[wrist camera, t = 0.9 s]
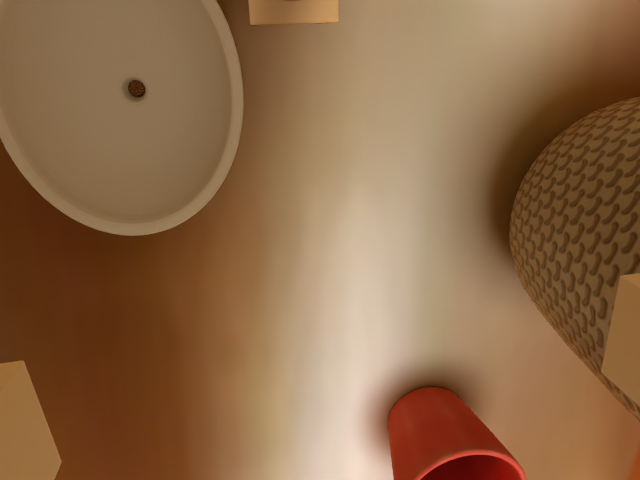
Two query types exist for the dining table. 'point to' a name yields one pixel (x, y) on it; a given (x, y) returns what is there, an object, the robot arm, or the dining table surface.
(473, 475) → the flower pot
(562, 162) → the planter
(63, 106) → the dish
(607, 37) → the dining table surface
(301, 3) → the lever
